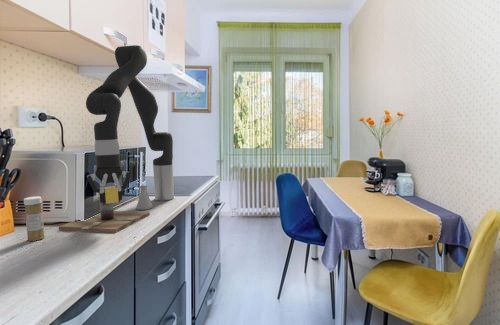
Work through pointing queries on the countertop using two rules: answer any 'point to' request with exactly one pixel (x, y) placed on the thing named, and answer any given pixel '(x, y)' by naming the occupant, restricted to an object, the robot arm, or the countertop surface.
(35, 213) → the sprinkles bottle
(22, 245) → the countertop surface
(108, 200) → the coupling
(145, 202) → the flask
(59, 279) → the countertop surface
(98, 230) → the board
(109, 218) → the glass spice jar
